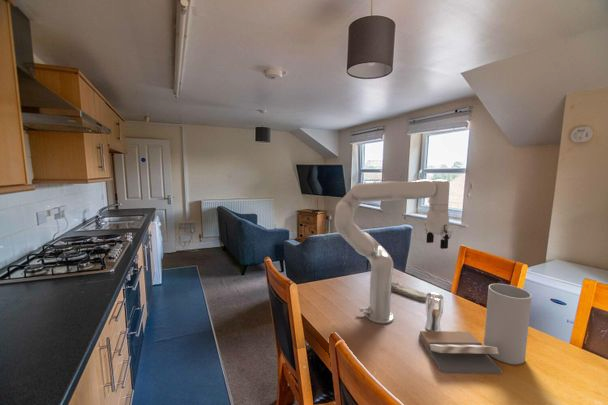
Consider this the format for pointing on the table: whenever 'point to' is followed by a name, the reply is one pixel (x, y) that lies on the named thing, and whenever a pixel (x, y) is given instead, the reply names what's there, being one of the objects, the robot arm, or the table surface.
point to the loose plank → (464, 349)
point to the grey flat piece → (458, 360)
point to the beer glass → (434, 311)
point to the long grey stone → (408, 291)
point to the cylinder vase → (507, 322)
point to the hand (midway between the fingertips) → (436, 245)
